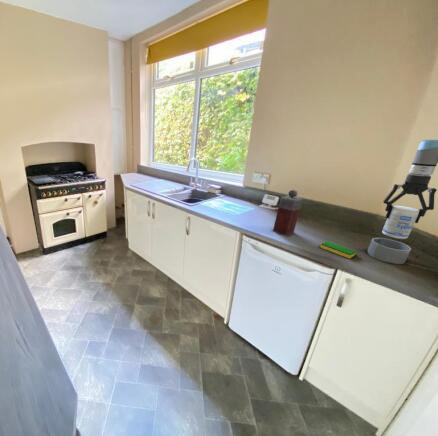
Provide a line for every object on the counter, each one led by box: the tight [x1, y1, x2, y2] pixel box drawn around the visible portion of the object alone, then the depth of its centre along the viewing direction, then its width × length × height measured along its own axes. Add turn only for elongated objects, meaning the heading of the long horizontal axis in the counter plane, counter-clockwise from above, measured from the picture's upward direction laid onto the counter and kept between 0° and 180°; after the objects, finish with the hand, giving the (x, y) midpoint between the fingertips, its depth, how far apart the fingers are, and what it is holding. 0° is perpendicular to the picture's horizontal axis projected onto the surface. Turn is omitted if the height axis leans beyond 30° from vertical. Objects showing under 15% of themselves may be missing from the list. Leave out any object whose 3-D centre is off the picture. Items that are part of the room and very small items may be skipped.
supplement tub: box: [381, 205, 419, 240], centre depth 117 cm, size 10×10×15 cm
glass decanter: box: [272, 189, 304, 237], centre depth 147 cm, size 9×11×28 cm
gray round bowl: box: [367, 237, 412, 265], centre depth 122 cm, size 15×15×8 cm
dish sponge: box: [320, 240, 357, 259], centre depth 128 cm, size 7×14×2 cm, turn 32°
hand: (400, 219), depth 116 cm, fingers closed on supplement tub, 9 cm apart
